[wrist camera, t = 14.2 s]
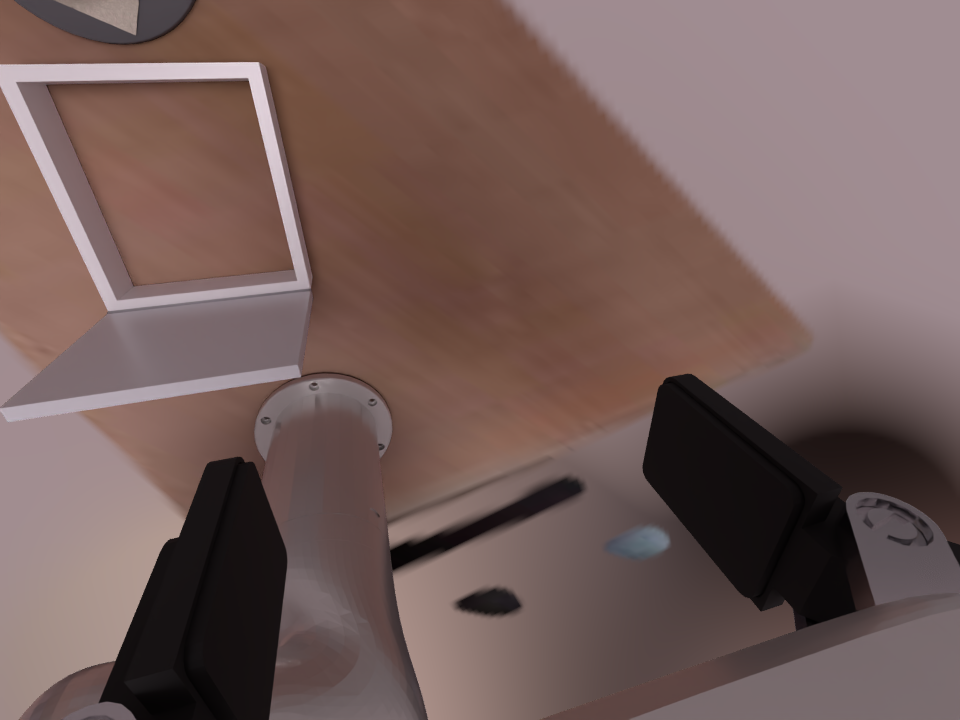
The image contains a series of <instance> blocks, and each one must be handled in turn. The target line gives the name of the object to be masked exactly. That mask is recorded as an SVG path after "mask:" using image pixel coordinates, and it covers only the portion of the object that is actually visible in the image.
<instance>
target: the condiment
mask: <svg viewBox="0 0 960 720" xmlns="http://www.w3.org/2000/svg"><path fill="white" fill-rule="evenodd" d="M55 1H57V2H59V3H62V4H64V5H66V6H69V7H71V8H74V9H75V10H78V11H80V12H82V13H85V14H87V15H90V16H92V17H94V18H96V19H99V20H101V21H103V22H106V23H108V24H111V25H113V26H115V27H117V28H120V29H122V30H124V31H127V32H129V33H131V34H134V35H136V28H137V15H138V6H139V0H55Z"/></svg>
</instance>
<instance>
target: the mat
mask: <svg viewBox="0 0 960 720" xmlns="http://www.w3.org/2000/svg"><path fill="white" fill-rule="evenodd" d="M14 1H16V2H17V3H18V4H19V5H21V6H22V7H24V8H25V9H27V10H28V11H30V12H31V13H33V14H34V15H36V16H37V17H39V18H41V19H43V20H44V21H46V22H48V23H50V24H52V25H53V26H56V27H58V28H60V29H62V30H65V31H67V32H69V33H72V34H75V35H78V36H81V37H84V38H87V39H91V40H95V41H100V42H105V43H110V44H138V43H143V42H147V41H151V40H154V39H156V38H159V37H161V36H164V35H165V34H167V33H168V32H170V31H171V30H173V29H174V28H175V27H176V26H178V25H179V24H180V23H181V22H182V21H183V20H184V18H185V17H186V16H187V14H188V13H189V12H190V10H191V9H192V7H193V5H194V3H195V1H196V0H139V6H138V15H137V28H136V35H134V34H131V33H129V32H127V31H124V30H122V29H120V28H117V27H115V26H113V25H111V24H108V23H106V22H103V21H101V20H99V19H96V18H94V17H92V16H90V15H87V14H85V13H82V12H80V11H78V10H75V9H74V8H71V7H69V6H66V5H64V4H62V3H59V2H57V1H55V0H14Z"/></svg>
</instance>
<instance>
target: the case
mask: <svg viewBox="0 0 960 720" xmlns="http://www.w3.org/2000/svg"><path fill="white" fill-rule="evenodd" d="M210 81H249V83H250V87H251V91H252V96H253V100H254V104H255V108H256V112H257V116H258V120H259V124H260V129H261V133H262V137H263V141H264V145H265V149H266V153H267V158H268V162H269V166H270V170H271V174H272V178H273V182H274V187H275V191H276V195H277V199H278V203H279V207H280V211H281V215H282V220H283V224H284V228H285V232H286V236H287V240H288V244H289V249H290V253H291V257H292V261H293V265H294V269H295V270H285V271H276V272H266V273H257V274H247V275H237V276H228V277H218V278H209V279H199V280H189V281H180V282H170V283H161V284H151V285H141V286H133V284H132V281H131V279H130V277H129V274H128V272H127V270H126V268H125V265H124V263H123V261H122V258H121V256H120V254H119V251H118V249H117V247H116V245H115V242H114V240H113V238H112V235H111V233H110V231H109V228H108V226H107V224H106V222H105V219H104V217H103V215H102V212H101V210H100V208H99V205H98V203H97V201H96V199H95V196H94V194H93V192H92V189H91V187H90V185H89V182H88V180H87V178H86V176H85V173H84V171H83V169H82V166H81V164H80V162H79V159H78V157H77V155H76V153H75V150H74V148H73V146H72V143H71V141H70V139H69V136H68V134H67V132H66V130H65V127H64V125H63V123H62V120H61V118H60V116H59V113H58V111H57V109H56V107H55V104H54V102H53V100H52V97H51V95H50V93H49V91H48V88H47V86H46V84H100V83H155V82H210ZM0 86H1V88H2V91H3V93H4V95H5V97H6V99H7V101H8V103H9V105H10V107H11V109H12V111H13V114H14V116H15V118H16V120H17V122H18V124H19V126H20V128H21V130H22V132H23V134H24V137H25V139H26V141H27V143H28V145H29V147H30V149H31V151H32V153H33V155H34V157H35V159H36V162H37V164H38V166H39V168H40V170H41V172H42V174H43V176H44V178H45V180H46V182H47V185H48V187H49V189H50V191H51V193H52V195H53V197H54V199H55V201H56V203H57V205H58V208H59V210H60V212H61V214H62V216H63V218H64V220H65V222H66V224H67V226H68V228H69V230H70V233H71V235H72V237H73V239H74V241H75V243H76V245H77V247H78V249H79V251H80V253H81V256H82V258H83V260H84V262H85V264H86V266H87V268H88V270H89V272H90V274H91V276H92V279H93V281H94V283H95V285H96V287H97V289H98V291H99V293H100V295H101V297H102V299H103V301H104V304H105V306H106V308H107V310H108V312H107V315H106V316H104V317H103V318H102V319H101V320H100V321H99V322H98V323H96V324H95V325H94V326H93V327H92V328H91V329H89V330H88V331H87V332H86V333H85V334H84V335H83V336H81V337H80V338H79V339H78V340H77V341H76V342H75V343H73V344H72V345H71V346H70V347H69V348H68V349H67V350H65V351H64V352H63V353H62V354H61V355H60V356H59V357H57V358H56V359H55V360H54V361H53V362H52V363H51V364H49V365H48V366H47V367H46V368H45V369H44V370H42V371H41V372H40V373H39V374H38V375H37V376H36V377H34V378H33V379H32V380H31V381H30V382H29V383H28V384H26V385H25V386H24V387H23V388H22V389H21V390H20V391H18V392H17V393H16V394H15V395H14V396H13V397H12V398H11V399H9V400H8V401H7V402H6V403H5V404H4V405H2V406H1V407H0V411H1V413H2V414H3V416H4V417H5V419H6V420H7V422H11V421H18V420H24V419H31V418H38V417H45V416H51V415H57V414H64V413H70V412H77V411H84V410H90V409H97V408H103V407H110V406H116V405H123V404H129V403H136V402H142V401H149V400H155V399H162V398H168V397H175V396H181V395H188V394H194V393H201V392H207V391H214V390H220V389H227V388H233V387H240V386H247V385H253V384H260V383H266V382H273V381H279V380H286V379H292V378H299V377H301V374H302V368H303V361H304V355H305V348H306V341H307V335H308V328H309V322H310V315H311V308H312V302H313V294H312V290H311V285H312V279H313V276H312V272H311V267H310V263H309V258H308V254H307V249H306V245H305V240H304V236H303V231H302V227H301V222H300V218H299V213H298V209H297V204H296V200H295V195H294V191H293V186H292V182H291V177H290V173H289V168H288V164H287V159H286V155H285V150H284V146H283V141H282V137H281V132H280V128H279V124H278V119H277V115H276V110H275V106H274V101H273V97H272V92H271V88H270V83H269V79H268V74H267V70H266V66H264V65H263V64H261V63H259V62H229V63H127V64H26V65H0Z"/></svg>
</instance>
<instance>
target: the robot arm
mask: <svg viewBox="0 0 960 720" xmlns="http://www.w3.org/2000/svg"><path fill="white" fill-rule="evenodd" d="M314 383H316V384H314ZM254 436H255V443H256V446H257V449H258V451H259V453H260V454H261V456H262V457H263V459H264V460H265V461H266V463H265V468H264V473H263V477H262V482H261V480H260V477H259V474H258V472H257V469H256V466H255V464H254V463H253V462H247V463H245V462H244V460H243V459H242V457H234V458H229V459H224V460H218V461H213V462H209V463H208V464H207V466H206V467H205V470H204V473H203V475H202V478H201V480H200V483H199V486H198V488H197V491H196V494H195V496H194V499H193V501H192V504H191V507H190V509H189V512H188V515H187V517H186V520H185V522H184V525H183V528H182V530H181V533H180V536H179V537H178V538H174V539H170V540H168V541H167V542H166V543H165V545H164V546H163V548H162V550H161V552H160V554H159V556H158V559H157V561H156V564H155V566H154V569H153V571H152V573H151V576H150V578H149V581H148V583H147V586H146V588H145V590H144V593H143V595H142V598H141V600H140V603H139V605H138V608H137V610H136V612H135V615H134V617H133V620H132V622H131V625H130V627H129V629H128V632H127V634H126V637H125V639H124V642H123V644H122V647H121V649H120V651H119V654H118V657H117V659H116V661H112V662H107V663H103V664H98V665H94V666H91V667H87V668H85V669H82V670H80V671H78V672H75V673H73V674H71V675H69V676H67V677H65V678H64V679H62V680H60V681H59V682H57V683H56V684H54V685H53V686H52V687H50V688H49V689H48V690H47V691H45V692H44V693H43V694H42V695H41V696H39V698H37V699H36V700H35V701H34V702H33V704H32V705H31V706H30V707H29V708H28V709H27V710H26V711H25V712H24V714H23V715H22V716H21V717H20V719H19V720H428V717H427V713H426V709H425V705H424V701H423V697H422V694H421V690H420V687H419V684H418V681H417V677H416V674H415V671H414V668H413V665H412V662H411V659H410V656H409V652H408V649H407V645H406V642H405V638H404V635H403V630H402V626H401V622H400V618H399V612H398V607H397V601H396V596H395V589H394V581H393V573H392V565H391V556H390V546H389V537H388V528H387V519H386V510H385V500H384V491H383V482H382V473H381V464H380V458H381V457H382V456H383V454H384V453H385V451H386V450H387V448H388V446H389V443H390V441H391V436H392V419H391V414H390V411H389V409H388V406H387V404H386V402H385V401H384V399H383V398H382V397H381V395H380V394H379V393H378V392H377V391H375V390H374V389H373V388H372V387H371V386H369V385H367V384H366V383H364V382H362V381H360V380H358V379H355V378H352V377H350V376H345V375H340V374H327V373H322V374H313V375H307V376H304V377H300V378H296V379H294V380H292V381H290V382H288V383H286V384H284V385H282V386H281V387H279V388H278V389H277V390H275V391H274V392H273V393H272V394H271V395H270V396H269V397H268V398H267V399H266V400H265V402H264V403H263V405H262V407H261V408H260V410H259V413H258V416H257V419H256V423H255V429H254ZM643 473H644V476H645V478H646V479H647V481H648V482H649V483H650V485H651V486H652V487H653V488H654V489H655V491H656V492H657V493H658V494H659V495H660V497H661V498H662V499H663V500H664V502H665V503H666V504H667V505H668V506H669V508H670V509H671V510H672V511H673V512H674V514H675V515H676V516H677V517H678V519H679V520H680V521H681V522H682V523H683V525H684V526H685V527H686V528H687V530H688V531H689V532H690V533H691V534H692V536H693V537H694V538H695V539H696V540H697V542H698V543H699V544H700V545H701V547H702V548H703V549H704V550H705V551H706V553H708V555H709V556H710V557H711V559H712V560H713V561H714V562H715V564H716V565H717V566H718V567H719V568H720V570H721V571H722V572H723V573H724V574H725V576H726V577H727V578H728V579H729V581H730V582H731V583H732V584H733V585H734V587H735V588H736V589H737V590H738V591H739V592H740V593H741V594H742V595H743V596H745V597H747V598H750V599H751V600H752V601H753V602H754V604H755V605H756V606H757V607H758V608H759V610H760V611H764V610H767V609H770V608H773V607H776V606H779V605H782V604H783V602H784V600H786V601H787V602H788V603H789V604H790V605H791V607H792V608H793V613H794V620H795V628H796V631H795V632H792V633H789V634H786V635H783V636H780V637H777V638H775V639H771V640H768V641H765V642H763V643H760V644H757V645H754V646H751V647H748V648H745V649H742V650H739V651H736V652H733V653H731V654H727V655H725V656H721V657H718V658H716V659H713V660H710V661H707V662H704V663H701V664H698V665H695V666H692V667H690V668H687V669H684V670H681V671H678V672H675V673H672V674H669V675H666V676H664V677H661V678H658V679H655V680H652V681H649V682H646V683H643V684H640V685H637V686H635V687H632V688H629V689H626V690H623V691H621V692H617V693H615V694H612V695H609V696H606V697H603V698H600V699H597V700H594V701H592V702H589V703H586V704H583V705H580V706H577V707H575V708H571V709H569V710H566V711H563V712H560V713H557V714H554V715H551V716H548V717H546V718H543V719H540V720H960V545H959V544H956V543H952V542H949V541H946V538H945V536H944V534H943V533H942V531H941V530H940V529H939V527H938V526H937V525H936V524H935V523H934V522H933V521H932V520H931V519H930V518H929V517H927V516H926V515H925V514H924V513H922V512H921V511H919V510H917V509H916V508H914V507H912V506H911V505H909V504H907V503H905V502H902V501H900V500H898V499H896V498H892V497H889V496H886V495H883V494H877V493H871V492H864V493H863V492H862V493H856V494H853V495H851V496H850V497H849V498H848V500H847V501H846V502H844V501H842V500H841V499H840V498H838V495H839V493H840V491H841V489H842V487H841V486H840V485H839V484H837V483H836V482H835V481H833V480H832V479H831V478H829V477H828V476H827V475H825V474H824V473H823V472H821V471H820V470H819V469H817V468H816V467H815V466H813V465H812V464H811V463H809V462H808V461H807V460H805V459H804V458H803V457H802V456H800V455H799V454H797V453H796V452H795V451H794V450H792V449H791V448H789V447H788V446H787V445H786V444H784V443H783V442H782V441H780V440H779V439H777V438H776V437H775V436H774V435H772V434H771V433H770V432H768V431H767V430H766V429H764V428H763V427H762V426H760V425H759V424H758V423H756V422H755V421H754V420H752V419H751V418H750V417H749V416H747V415H746V414H745V413H743V412H742V411H741V410H739V409H738V408H737V407H735V406H734V405H733V404H731V403H730V402H729V401H727V400H726V399H725V398H723V397H722V396H721V395H719V394H718V393H717V392H715V391H714V390H713V389H711V388H710V387H709V386H707V385H706V384H705V383H703V382H702V381H701V380H699V379H698V378H697V377H695V376H694V375H692V374H684V375H678V376H673V377H668V378H666V379H665V380H664V382H663V384H662V385H660V387H659V389H658V392H657V397H656V402H655V407H654V412H653V417H652V422H651V427H650V432H649V437H648V441H647V446H646V452H645V456H644V462H643Z"/></svg>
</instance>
